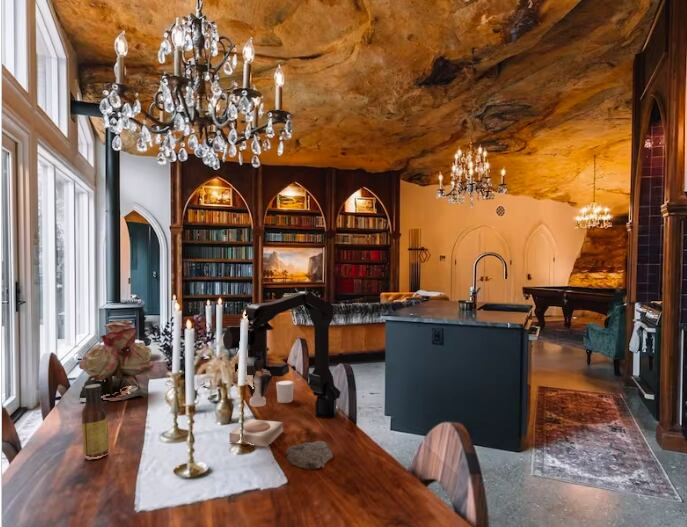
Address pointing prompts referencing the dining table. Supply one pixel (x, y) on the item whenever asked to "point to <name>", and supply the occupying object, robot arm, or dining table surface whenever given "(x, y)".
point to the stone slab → (309, 455)
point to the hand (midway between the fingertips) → (257, 396)
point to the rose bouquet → (117, 361)
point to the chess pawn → (257, 393)
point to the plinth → (258, 432)
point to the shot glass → (285, 391)
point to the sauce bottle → (94, 423)
